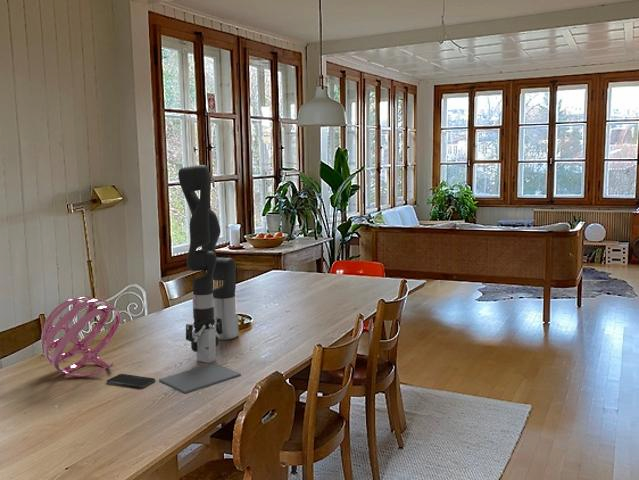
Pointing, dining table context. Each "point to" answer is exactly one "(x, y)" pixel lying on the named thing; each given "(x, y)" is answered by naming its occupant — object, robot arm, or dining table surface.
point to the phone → (131, 381)
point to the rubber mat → (199, 377)
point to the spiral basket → (72, 333)
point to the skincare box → (207, 345)
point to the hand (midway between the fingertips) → (205, 348)
